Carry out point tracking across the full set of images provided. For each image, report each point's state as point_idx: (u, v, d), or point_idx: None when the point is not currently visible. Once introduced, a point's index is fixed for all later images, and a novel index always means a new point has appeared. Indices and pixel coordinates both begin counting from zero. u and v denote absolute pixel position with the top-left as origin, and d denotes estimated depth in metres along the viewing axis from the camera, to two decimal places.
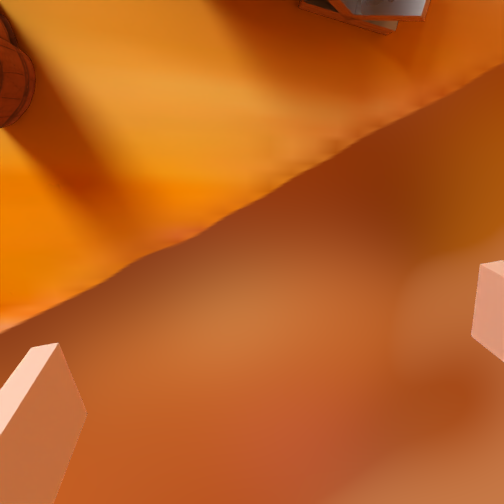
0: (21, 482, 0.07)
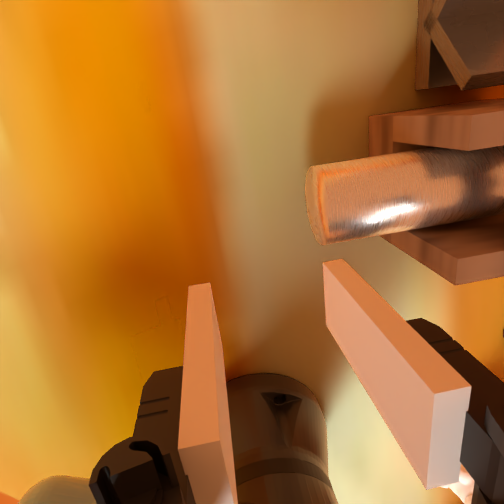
0: (220, 372, 0.10)
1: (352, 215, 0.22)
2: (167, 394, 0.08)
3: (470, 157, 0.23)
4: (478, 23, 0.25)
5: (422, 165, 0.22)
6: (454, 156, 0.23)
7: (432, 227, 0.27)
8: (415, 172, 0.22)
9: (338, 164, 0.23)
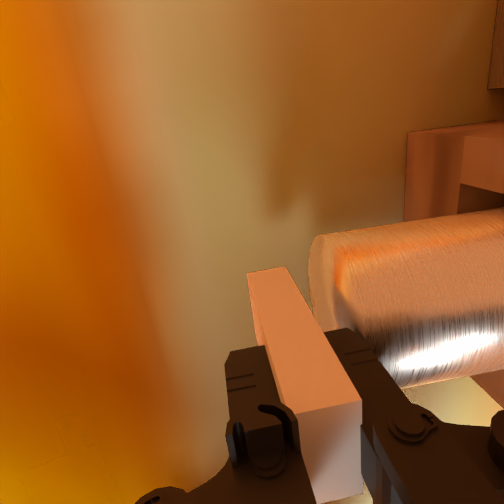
0: None
1: (415, 361, 0.10)
2: (250, 371, 0.09)
3: None
4: None
5: None
6: None
7: None
8: None
9: (382, 238, 0.11)
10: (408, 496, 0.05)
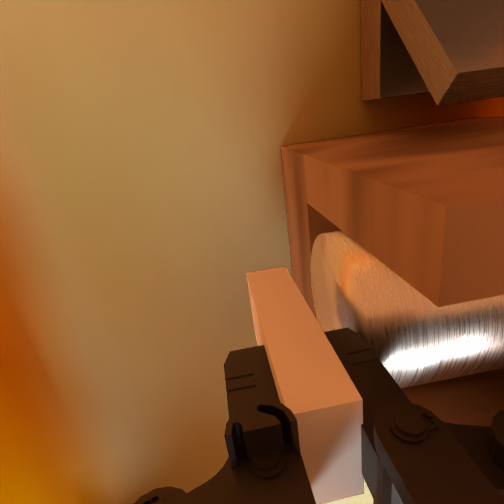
0: None
1: (419, 360, 0.10)
2: (250, 371, 0.09)
3: None
4: None
5: None
6: None
7: None
8: None
9: None
10: (409, 496, 0.05)
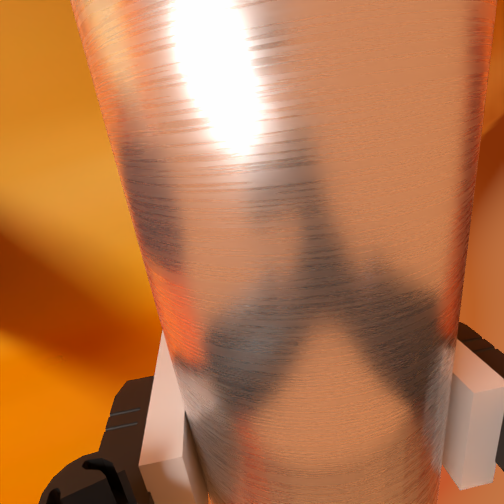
0: None
1: None
2: (138, 405, 0.08)
3: (461, 295, 0.05)
4: None
5: (490, 52, 0.04)
6: None
7: None
8: None
9: None
10: None
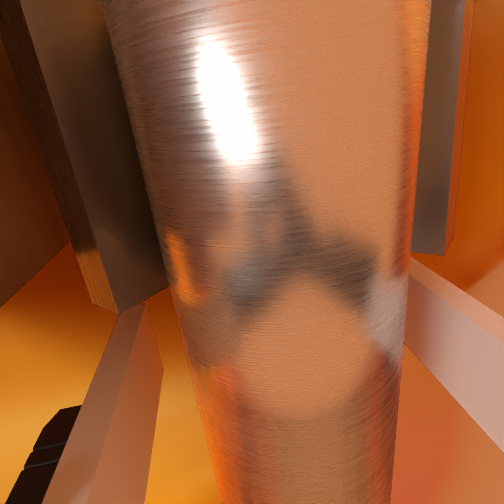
0: (139, 408, 0.09)
1: None
2: (65, 438, 0.08)
3: (407, 270, 0.07)
4: None
5: (421, 85, 0.06)
6: (413, 219, 0.07)
7: None
8: (417, 34, 0.05)
9: None
10: None
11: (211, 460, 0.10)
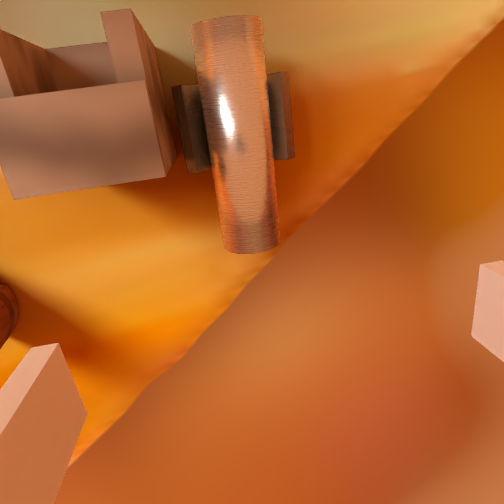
0: (21, 482, 0.07)
1: (229, 41, 0.25)
2: None
3: (269, 156, 0.29)
4: None
5: (264, 114, 0.28)
6: (269, 143, 0.29)
7: (40, 72, 0.26)
8: (260, 105, 0.27)
9: (263, 42, 0.27)
10: None
11: (221, 226, 0.32)
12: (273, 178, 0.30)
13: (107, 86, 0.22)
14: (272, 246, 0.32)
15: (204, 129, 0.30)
